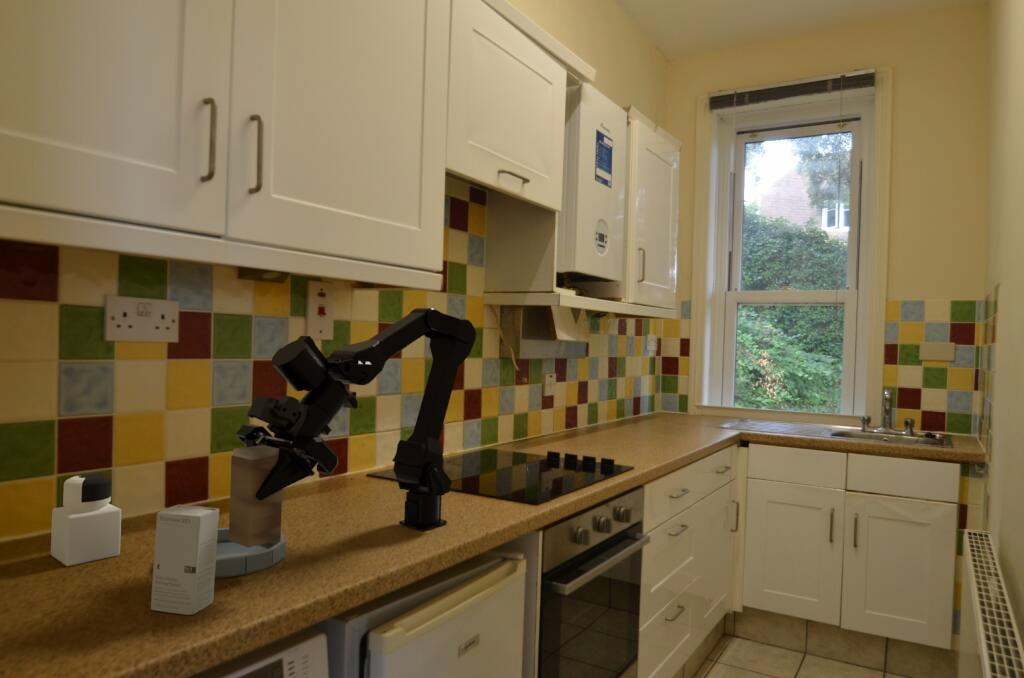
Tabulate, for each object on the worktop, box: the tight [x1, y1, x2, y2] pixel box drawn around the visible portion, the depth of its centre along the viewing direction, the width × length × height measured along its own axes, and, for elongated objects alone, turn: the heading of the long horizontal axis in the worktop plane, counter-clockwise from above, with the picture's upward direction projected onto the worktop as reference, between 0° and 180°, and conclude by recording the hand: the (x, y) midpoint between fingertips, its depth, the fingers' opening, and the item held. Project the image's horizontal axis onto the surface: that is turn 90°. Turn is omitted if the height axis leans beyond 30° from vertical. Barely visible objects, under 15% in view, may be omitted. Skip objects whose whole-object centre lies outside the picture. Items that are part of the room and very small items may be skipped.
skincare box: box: [150, 504, 220, 616], centre depth 81 cm, size 6×4×12 cm
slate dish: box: [215, 527, 287, 579], centre depth 98 cm, size 16×16×2 cm
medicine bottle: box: [50, 473, 122, 567], centre depth 98 cm, size 7×7×12 cm
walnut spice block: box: [228, 445, 283, 548], centre depth 93 cm, size 5×5×13 cm
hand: (247, 495), depth 92 cm, fingers closed on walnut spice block, 5 cm apart
